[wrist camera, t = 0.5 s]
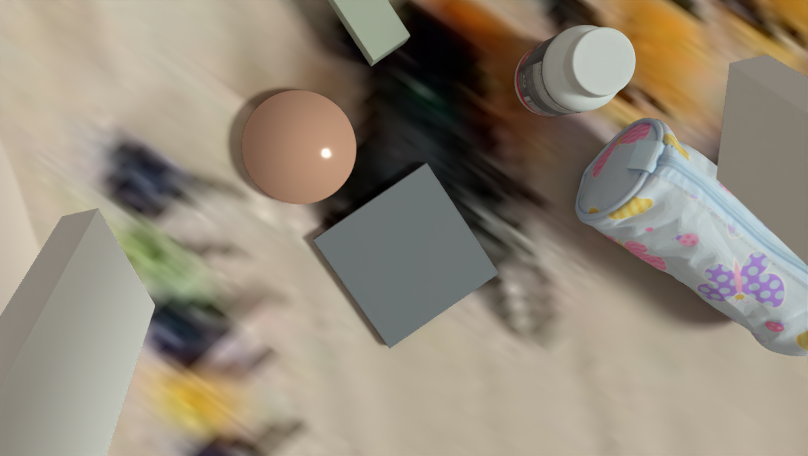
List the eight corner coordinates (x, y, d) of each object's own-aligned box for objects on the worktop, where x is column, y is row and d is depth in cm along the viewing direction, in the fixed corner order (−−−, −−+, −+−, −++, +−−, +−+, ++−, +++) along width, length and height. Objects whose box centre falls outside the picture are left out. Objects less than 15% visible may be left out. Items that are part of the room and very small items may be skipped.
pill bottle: (565, 31, 46) (629, -1, 36) (592, 98, 47) (660, 85, 37) (500, 61, 46) (546, 37, 36) (528, 129, 46) (581, 123, 37)
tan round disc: (376, 163, 45) (377, 163, 45) (286, 224, 45) (285, 225, 44) (314, 69, 44) (313, 67, 43) (220, 132, 44) (218, 131, 43)
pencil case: (807, 255, 51) (915, 278, 41) (747, 343, 51) (841, 386, 42) (608, 112, 47) (677, 103, 38) (545, 208, 47) (598, 222, 38)
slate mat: (496, 271, 47) (498, 273, 47) (388, 345, 47) (389, 348, 47) (425, 163, 46) (426, 163, 45) (313, 239, 45) (313, 240, 45)
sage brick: (404, 43, 45) (410, 35, 42) (370, 66, 45) (373, 60, 42) (357, -30, 44) (359, -44, 41) (322, -7, 44) (322, -18, 41)
